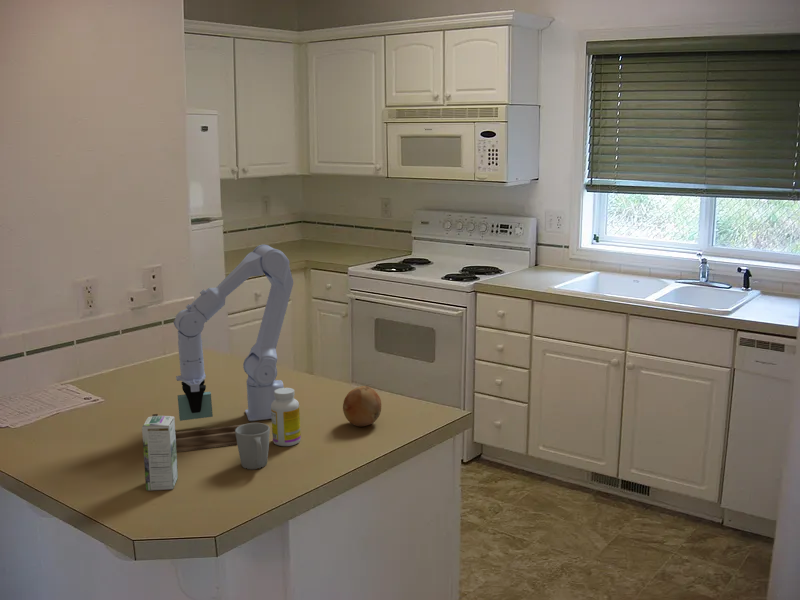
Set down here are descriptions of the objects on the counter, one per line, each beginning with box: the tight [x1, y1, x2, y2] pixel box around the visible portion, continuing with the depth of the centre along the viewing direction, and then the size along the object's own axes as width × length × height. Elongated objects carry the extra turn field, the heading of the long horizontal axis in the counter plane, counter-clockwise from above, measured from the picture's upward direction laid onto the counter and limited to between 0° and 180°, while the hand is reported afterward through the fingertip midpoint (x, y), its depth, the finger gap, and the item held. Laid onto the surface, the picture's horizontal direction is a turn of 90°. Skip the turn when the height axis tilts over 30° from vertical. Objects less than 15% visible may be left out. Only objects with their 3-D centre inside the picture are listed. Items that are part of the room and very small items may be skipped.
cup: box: [235, 422, 271, 470], centre depth 186 cm, size 8×10×8 cm
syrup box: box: [141, 415, 179, 491], centre depth 177 cm, size 6×6×14 cm
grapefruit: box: [342, 385, 382, 428], centre depth 210 cm, size 10×10×10 cm
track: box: [151, 413, 244, 453], centre depth 200 cm, size 21×8×7 cm, turn 107°
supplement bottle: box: [271, 387, 302, 447], centre depth 199 cm, size 7×7×13 cm
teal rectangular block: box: [177, 391, 214, 422], centre depth 210 cm, size 8×2×6 cm, turn 107°
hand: (195, 410), depth 210 cm, fingers closed on teal rectangular block, 2 cm apart
